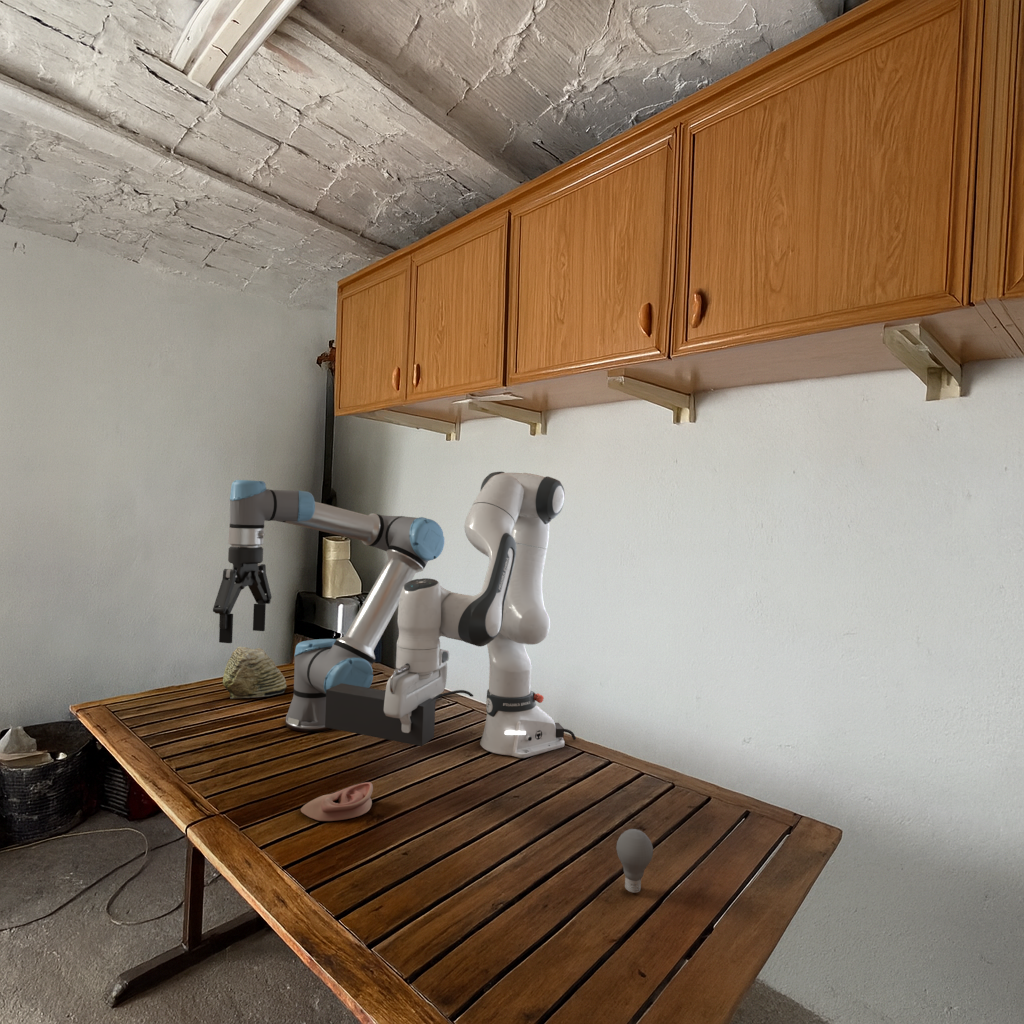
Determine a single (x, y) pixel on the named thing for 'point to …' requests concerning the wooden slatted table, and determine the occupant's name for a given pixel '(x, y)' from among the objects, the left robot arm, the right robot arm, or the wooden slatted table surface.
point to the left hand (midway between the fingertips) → (242, 636)
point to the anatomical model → (341, 804)
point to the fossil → (252, 674)
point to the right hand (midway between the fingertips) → (415, 726)
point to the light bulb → (634, 857)
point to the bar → (375, 715)
